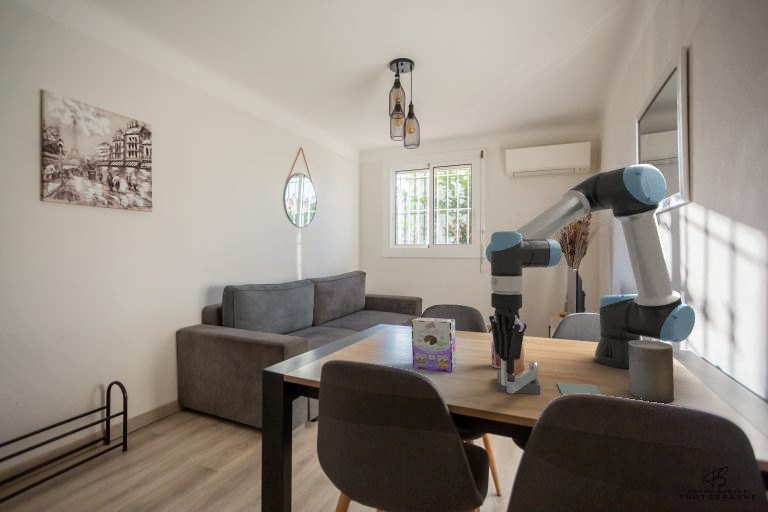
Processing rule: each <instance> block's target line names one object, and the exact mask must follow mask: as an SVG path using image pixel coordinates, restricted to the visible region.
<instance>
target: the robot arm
mask: <svg viewBox="0 0 768 512" xmlns="http://www.w3.org/2000/svg"><path fill="white" fill-rule="evenodd" d="M666 192H667V183H666V179H665V177H664V175H663V173H662V172H661V171H660V170H659V169H658V168H657V167H655V166H654V165H652V164H647V163H644V164H643V163H642V164H641V163H640V164H633V165H629V166H626V167H625V166H624V167H622V168H621V167H620V168H616V169H612V170H608V171H603V172H600V173H596V174H594V175H592V176H590V177H588V178H586V179H585V180H583V181H582V182H579V183H578V184H577V185H575V186H574V187H572V188H570V189H569V190H568V191H566V192H565V193H564V194H563V195H562V199H560V200H559V201H557V202H555V203H554V204H553V205H552V206H550V207H548V208H547V209H546V210H544V211H542V212H541V213H540V214H538V215H537V216H536V217H534V218H532V219H531V220H529V221H528V222H527V223H525V224H524V225H523V226H521V227H519V228H518V229H517V230H513V231H512V230H511V231H510V230H509V231H506V230H504V231H503V230H502V231H494V232H493V233H491V237H490V243H489V244H488V245H487V246H486V248H485V256H486V260H487V261H488V262H489V264H490V275H491V276H490V277H491V279H490V283H491V285H490V287H491V288H490V289H491V291H492V293H491V294H490V303H491V307H492V308H493V309H494V314H492V315H489V316H488V319H489V322H490V323H489V324H490V326H491V332H492V340H493V341H494V348H495V353H496V354H499V357H500V361H501V369H500V370H501V384H502V385H503V386H507V373H509V372H511V373H514V360H517V359H520V355H521V348H522V344H523V340H524V333H525V332H526V329H527V323H525V322H524V323H523V322H522V321H521V320H520V318H521V316H520V313H519V310H520V309H522V308H523V294H522V291H523V269H532V268H533V269H536V268H544V269H545V268H546V269H547V268H552V267H555V266H556V265H558V264H559V263H560V262H561V259H562V256H563V255H562V253H563V251H562V249H563V248H562V247H561V244H560V243H559V242H558V241H557V240H556V239H553V238H552V239H551V237H553V236H554V235H555V234H557V233H558V232H560V231H561V230H562V229H564V228H566V227H567V226H568V225H569V224H571V223H572V222H574V221H576V220H577V219H581V218H584V217H587V215H589V214H592V213H594V212H598V211H604V210H612V214H613V218H615V219H616V220H619V221H620V224H621V226H622V231H623V235H624V239H625V243H626V247H627V252H628V253H627V254H628V256H629V261H630V265H631V269H632V274H633V277H634V281H635V286H636V289H637V293H628V294H626V293H625V294H609V295H603V296H601V298H600V300H599V329H600V330H599V331H600V335H599V340H598V343H597V346H596V348H595V352H594V360H595V361H596V362H597V363H600V364H602V365H606V366H610V367H615V368H622V369H629V344H628V342H629V341H633V340H641V337H644V338H650V339H655V340H660V341H661V342H670V343H681V342H683V341H685V340H686V339H688V338H689V337H690V335H691V334H692V331H693V330H694V328H695V323H696V314H695V310H694V308H693V307H692V306H691V305H689V304H686V303H682V299H681V294H680V293H679V292H677V291H675V290H673V286H672V282H671V278H670V274H669V270H668V264H667V260H666V257H665V252H664V251H665V250H664V247H663V244H662V238H661V233H660V228H659V224H658V221H657V216H656V213H657V212H658V210H659V209H661V204H660V203H661V202H662V201H663V200H664V199H665V197H666V196H667V194H666Z"/></svg>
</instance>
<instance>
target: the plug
mask: <svg viewBox="0 0 768 512" xmlns="http://www.w3.org/2000/svg"><path fill="white" fill-rule="evenodd" d="M525 364H526V363H525V344H524V343H522V348H521V355H520V359H517V360H514V373H515V376H516V375H518V374H520V373H521V372H523V371H524V370H526V369H525Z"/></svg>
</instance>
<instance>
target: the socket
mask: <svg viewBox="0 0 768 512" xmlns="http://www.w3.org/2000/svg"><path fill="white" fill-rule="evenodd" d="M496 373H497V374H496V377H497V378H496V382H497V392H505V393H508V392H507V386H503V385H502V384H501V369H497V370H496ZM515 393H518V394H519V393H520V394H531V395H541V384H540V381H539V379H538V383H531V382H529V383H528V384H526V385H525V386H523V387H522V388H520V389H519V390H517V391H516V392H515Z"/></svg>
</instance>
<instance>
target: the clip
mask: <svg viewBox="0 0 768 512" xmlns="http://www.w3.org/2000/svg"><path fill="white" fill-rule="evenodd" d="M538 365H539V364H538V362H537V361H528V368H526V369H525V370H524V371H523V372H521V373H520V374H518V375H516V376H515V373H511V372H509V373H507V392H506V393H509V394H514V393H516V391H517V390H519V389H520V388H522V387H523V386H525V385H526V384H528V383H529V382H531V383H538V380H539V373H538V372H539V370H538V369H539V366H538Z"/></svg>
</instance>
